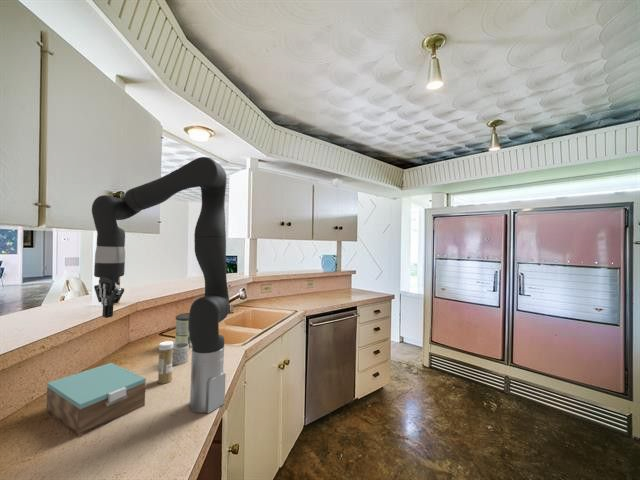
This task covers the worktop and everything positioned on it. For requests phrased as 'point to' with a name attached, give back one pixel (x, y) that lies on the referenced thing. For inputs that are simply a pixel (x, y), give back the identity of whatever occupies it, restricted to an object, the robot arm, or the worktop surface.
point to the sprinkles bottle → (165, 362)
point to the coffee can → (182, 329)
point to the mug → (180, 353)
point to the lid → (96, 385)
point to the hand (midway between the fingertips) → (107, 316)
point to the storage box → (93, 410)
